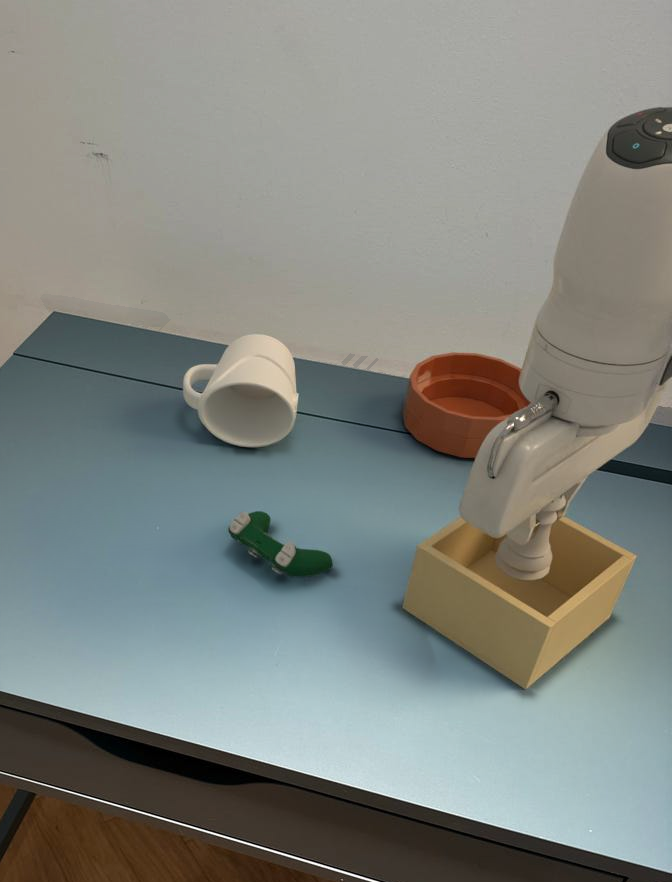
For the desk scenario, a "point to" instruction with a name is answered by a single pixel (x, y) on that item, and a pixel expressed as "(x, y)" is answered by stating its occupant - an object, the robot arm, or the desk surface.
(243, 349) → the mug
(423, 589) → the bin
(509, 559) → the rook chess piece
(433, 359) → the bowl
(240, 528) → the green two-tone curved device
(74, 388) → the desk surface
